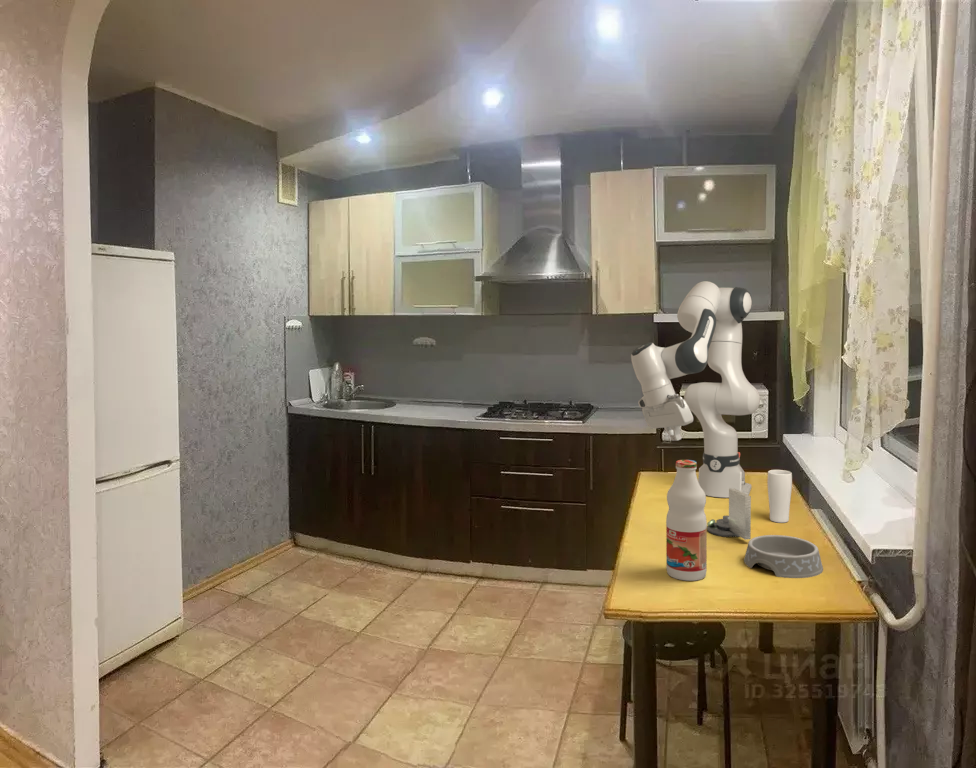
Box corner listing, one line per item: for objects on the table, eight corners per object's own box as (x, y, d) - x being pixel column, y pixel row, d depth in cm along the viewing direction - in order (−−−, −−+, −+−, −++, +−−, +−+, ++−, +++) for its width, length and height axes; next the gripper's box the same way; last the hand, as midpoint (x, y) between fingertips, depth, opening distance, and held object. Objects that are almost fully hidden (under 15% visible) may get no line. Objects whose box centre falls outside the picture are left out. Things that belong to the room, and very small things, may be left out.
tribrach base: (714, 523, 203) (714, 515, 203) (752, 529, 197) (752, 521, 197) (701, 533, 195) (701, 525, 194) (740, 539, 188) (740, 531, 188)
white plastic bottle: (715, 577, 162) (715, 462, 159) (683, 584, 158) (683, 467, 155) (688, 564, 170) (688, 456, 168) (658, 571, 167) (657, 460, 164)
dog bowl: (799, 585, 157) (799, 562, 156) (730, 563, 171) (730, 542, 171) (836, 567, 167) (836, 546, 166) (767, 548, 181) (768, 529, 181)
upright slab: (712, 524, 198) (712, 484, 197) (731, 523, 199) (731, 483, 198) (737, 540, 184) (737, 497, 183) (758, 538, 185) (758, 495, 184)
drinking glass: (795, 523, 201) (796, 474, 199) (772, 524, 201) (773, 475, 199) (785, 517, 207) (785, 469, 206) (763, 517, 207) (763, 469, 206)
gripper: (688, 389, 192) (705, 434, 192) (651, 396, 211) (667, 437, 211) (670, 397, 190) (688, 442, 190) (635, 403, 209) (651, 444, 209)
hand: (676, 440), depth 201 cm, fingers closed
